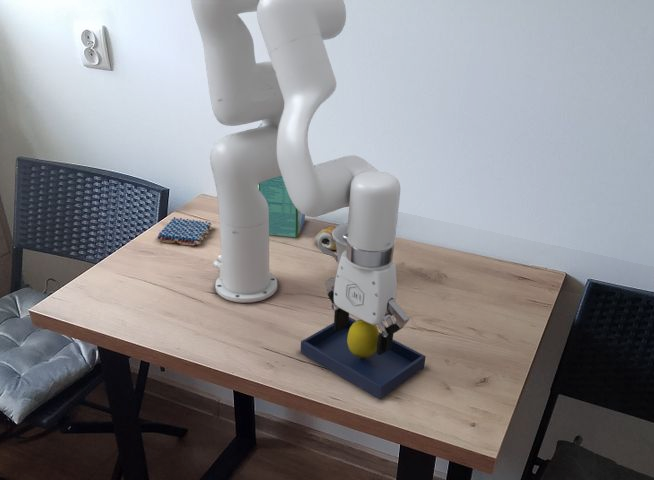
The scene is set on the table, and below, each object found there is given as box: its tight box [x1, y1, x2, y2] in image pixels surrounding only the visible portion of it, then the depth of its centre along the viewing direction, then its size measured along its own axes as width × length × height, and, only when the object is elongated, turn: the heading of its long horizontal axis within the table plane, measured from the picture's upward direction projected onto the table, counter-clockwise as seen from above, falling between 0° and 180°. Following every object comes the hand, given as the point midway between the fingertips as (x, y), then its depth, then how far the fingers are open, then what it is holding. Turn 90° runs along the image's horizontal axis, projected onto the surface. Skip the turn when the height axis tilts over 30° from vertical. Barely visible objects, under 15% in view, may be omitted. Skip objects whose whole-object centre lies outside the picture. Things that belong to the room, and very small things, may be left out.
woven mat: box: [156, 216, 213, 246], centre depth 162 cm, size 10×11×2 cm
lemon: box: [347, 318, 380, 358], centre depth 121 cm, size 6×6×8 cm
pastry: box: [314, 226, 337, 251], centre depth 160 cm, size 9×7×4 cm
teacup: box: [317, 222, 348, 266], centre depth 145 cm, size 12×15×10 cm
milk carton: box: [258, 122, 306, 239], centre depth 160 cm, size 9×9×25 cm
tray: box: [300, 316, 427, 400], centre depth 123 cm, size 18×12×3 cm
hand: (361, 339), depth 121 cm, fingers open, 9 cm apart
